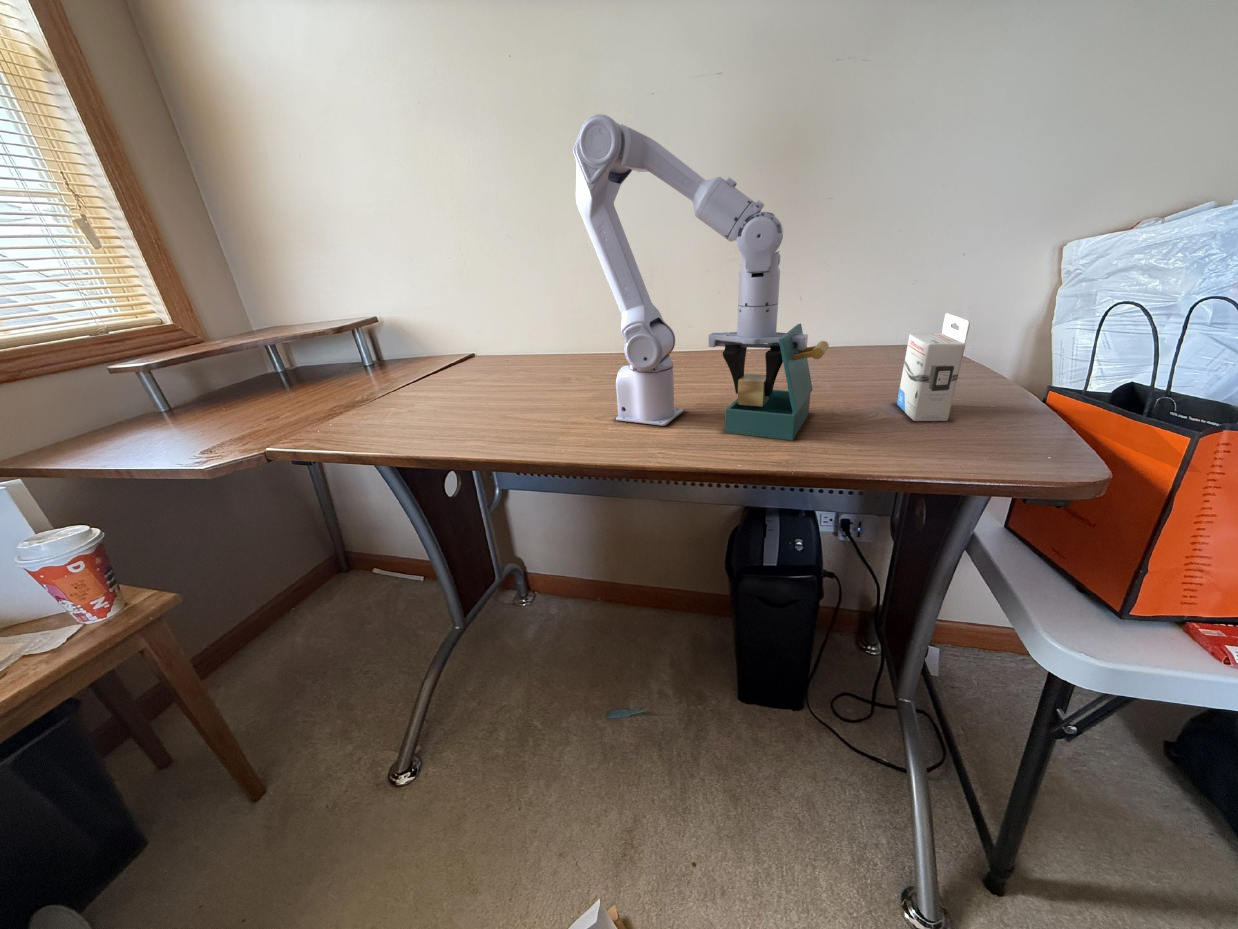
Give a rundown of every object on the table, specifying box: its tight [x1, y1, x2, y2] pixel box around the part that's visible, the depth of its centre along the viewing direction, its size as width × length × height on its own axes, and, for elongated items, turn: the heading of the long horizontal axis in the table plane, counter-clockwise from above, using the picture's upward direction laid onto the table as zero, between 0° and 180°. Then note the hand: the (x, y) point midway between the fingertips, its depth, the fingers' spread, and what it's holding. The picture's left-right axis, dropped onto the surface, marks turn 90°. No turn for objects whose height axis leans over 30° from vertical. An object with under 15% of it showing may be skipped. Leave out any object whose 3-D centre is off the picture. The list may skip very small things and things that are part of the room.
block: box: [737, 373, 769, 407], centre depth 76 cm, size 4×4×4 cm
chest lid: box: [779, 323, 830, 414], centre depth 70 cm, size 11×12×5 cm
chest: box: [724, 389, 812, 441], centre depth 76 cm, size 10×12×4 cm
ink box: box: [896, 312, 971, 422], centre depth 73 cm, size 9×5×15 cm, turn 168°
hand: (753, 393), depth 76 cm, fingers closed on block, 4 cm apart
